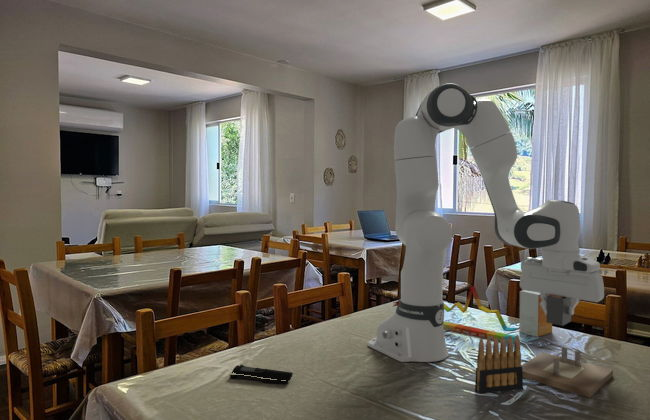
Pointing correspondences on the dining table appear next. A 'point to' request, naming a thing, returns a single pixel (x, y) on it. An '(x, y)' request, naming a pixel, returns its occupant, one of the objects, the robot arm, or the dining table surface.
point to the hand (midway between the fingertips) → (558, 312)
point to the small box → (533, 315)
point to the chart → (477, 331)
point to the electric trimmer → (261, 374)
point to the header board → (566, 373)
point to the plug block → (558, 310)
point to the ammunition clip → (499, 366)
